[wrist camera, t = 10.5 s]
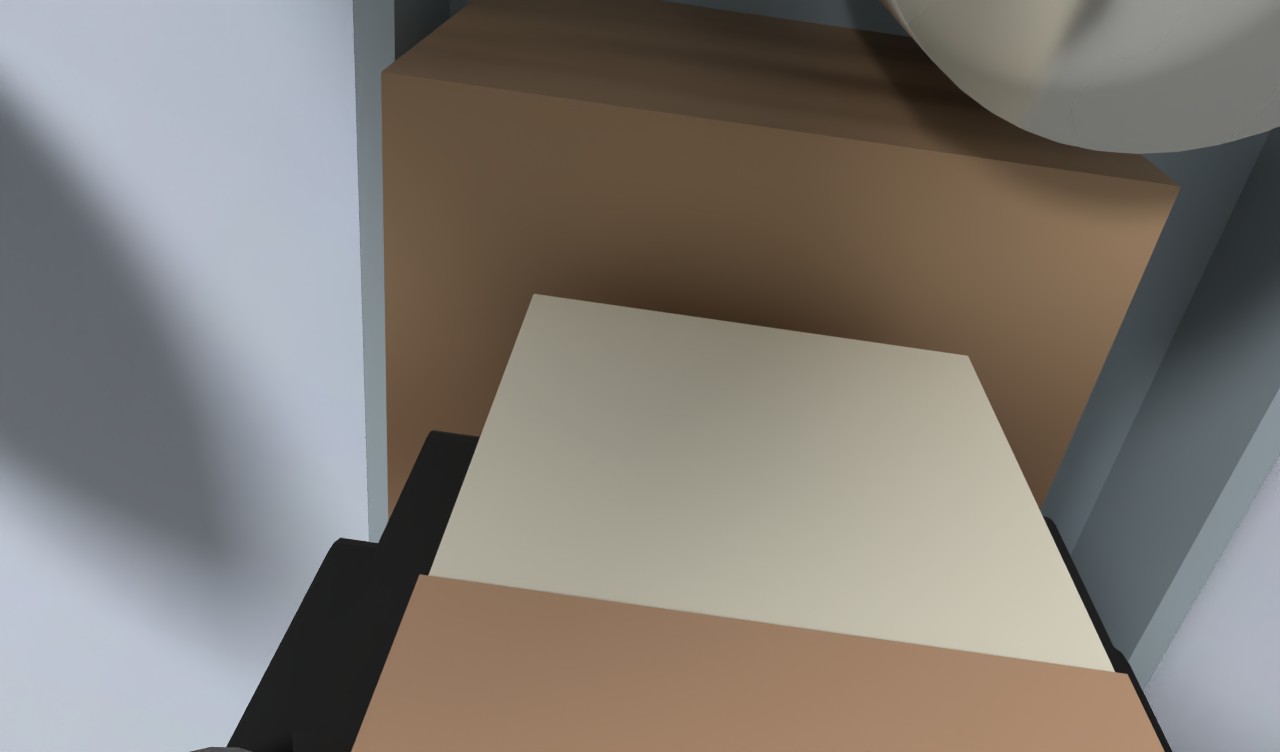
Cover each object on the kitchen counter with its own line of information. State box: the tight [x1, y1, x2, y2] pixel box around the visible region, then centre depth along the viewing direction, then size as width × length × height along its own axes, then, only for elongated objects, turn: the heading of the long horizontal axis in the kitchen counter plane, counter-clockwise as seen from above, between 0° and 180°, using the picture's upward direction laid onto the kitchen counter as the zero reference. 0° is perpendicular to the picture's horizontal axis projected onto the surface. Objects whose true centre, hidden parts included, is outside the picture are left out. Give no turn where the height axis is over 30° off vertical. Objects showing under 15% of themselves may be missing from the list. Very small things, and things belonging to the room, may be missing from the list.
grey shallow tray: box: [353, 0, 1280, 691], centre depth 16 cm, size 20×16×4 cm
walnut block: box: [381, 0, 1181, 521], centre depth 16 cm, size 9×9×7 cm
